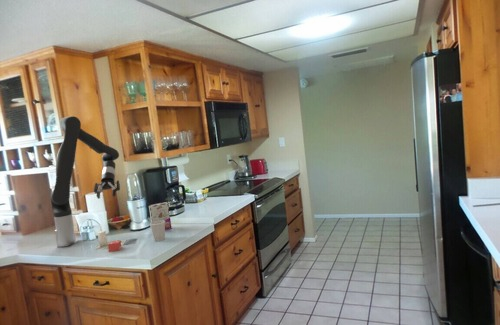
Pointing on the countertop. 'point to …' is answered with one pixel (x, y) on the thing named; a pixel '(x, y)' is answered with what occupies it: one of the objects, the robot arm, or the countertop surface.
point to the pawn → (102, 238)
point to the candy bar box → (160, 213)
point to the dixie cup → (158, 230)
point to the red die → (114, 245)
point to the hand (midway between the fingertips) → (106, 196)
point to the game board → (127, 242)
